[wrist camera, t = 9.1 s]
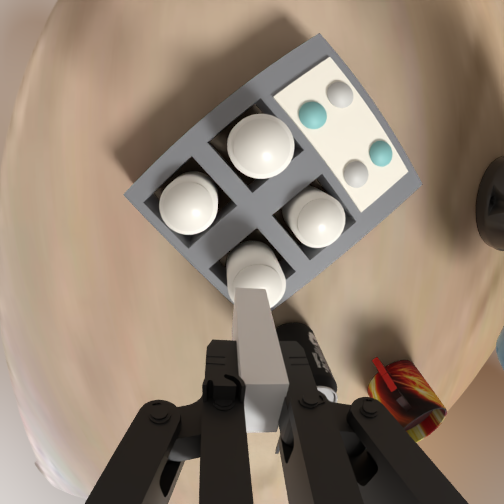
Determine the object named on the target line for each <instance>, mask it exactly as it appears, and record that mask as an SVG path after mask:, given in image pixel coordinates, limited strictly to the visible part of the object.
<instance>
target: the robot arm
mask: <svg viewBox="0 0 504 504" xmlns="http://www.w3.org/2000/svg"><path fill="white" fill-rule="evenodd" d="M476 219H477V226H478V230H479V233H480V236H481V238H482V239H483V241H484V242H485V243H486V244H487V245H489V246H491V247H493V248H494V249H496V250H499V251H504V157H500V158H498V159H496V160H495V161H494V162H492V163H491V165H490V166H489V167H488V169H487V170H486V172H485V174H484V176H483V179H482V181H481V184H480V188H479V192H478V197H477V206H476ZM496 352H497V356H498V359H499V362H500V364H501V366H502V368H503V369H504V327H503V329H502V331H501V333H500V335H499V337H498V339H497V343H496ZM202 392H203V395H202V397H201V398H200V399H199V400H198V401H197V402H195V403H193V404H190V405H187V406H181V407H176V406H175V405H174V404H173V403H170V402H168V401H164V400H154V401H150V402H148V403H146V404H144V405H143V406H142V407H141V408H140V410H139V412H138V413H137V415H136V417H135V418H134V420H133V422H132V423H131V425H130V427H129V428H128V430H127V432H126V434H125V435H124V437H123V439H122V440H121V442H120V444H119V445H118V447H117V449H116V451H115V452H114V454H113V456H112V457H111V459H110V461H109V462H108V464H107V466H106V468H105V469H104V471H103V473H102V474H101V476H100V478H99V480H98V481H97V483H96V485H95V487H94V488H93V490H92V492H91V494H90V495H89V497H88V499H87V500H86V502H85V504H168V502H169V500H170V497H171V495H172V492H173V490H174V487H175V485H176V482H177V480H178V477H179V475H180V472H181V470H182V467H183V464H184V462H185V460H190V459H194V458H199V457H200V488H199V504H253V494H252V485H251V475H250V464H249V454H248V443H247V432H277V429H278V425H279V429H280V437H279V440H278V444H277V447H276V453H275V454H278V453H279V450H280V455H281V461H282V467H283V472H284V478H285V484H286V490H287V495H288V501H289V504H468V503H467V501H466V500H465V499H464V498H463V497H462V496H461V494H460V493H459V492H458V491H457V490H456V489H455V488H454V486H453V485H452V484H451V483H450V482H449V481H448V479H447V478H446V477H445V476H444V475H443V474H442V472H441V471H440V470H439V469H438V468H437V467H436V466H435V464H434V463H433V462H432V461H431V460H430V458H429V457H428V456H427V455H426V454H425V453H424V451H423V450H422V449H421V448H420V447H419V446H418V444H417V443H416V442H415V441H414V440H413V439H412V437H411V436H410V435H409V434H408V433H407V432H406V430H405V429H404V428H403V427H402V426H401V425H400V423H399V422H398V421H397V420H396V419H395V418H394V416H393V415H392V414H391V413H390V412H389V411H388V410H387V408H386V407H385V406H384V405H383V404H382V403H381V402H380V401H378V400H376V399H374V398H370V397H362V398H358V399H356V400H355V401H354V402H353V403H352V405H346V404H340V403H335V402H332V401H329V400H328V399H327V397H326V396H325V394H323V393H322V392H320V391H318V389H317V386H316V383H315V380H314V377H313V374H312V371H311V369H310V366H309V363H308V360H307V358H306V354H305V351H304V348H303V347H302V346H301V345H300V344H299V343H298V342H297V341H278V337H277V333H276V329H275V325H274V321H273V317H272V313H271V309H270V305H269V301H268V297H267V293H266V289H256V288H236V287H235V297H234V310H233V323H232V341H230V340H212V341H211V342H210V344H209V345H208V346H207V353H206V368H205V379H204V382H203V385H202Z"/></svg>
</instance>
